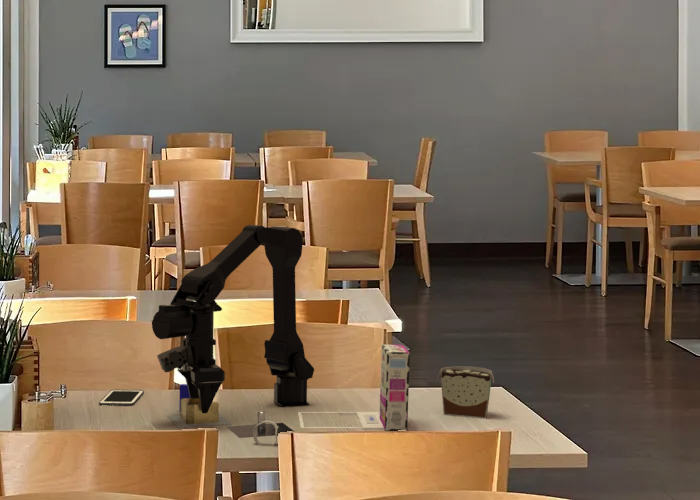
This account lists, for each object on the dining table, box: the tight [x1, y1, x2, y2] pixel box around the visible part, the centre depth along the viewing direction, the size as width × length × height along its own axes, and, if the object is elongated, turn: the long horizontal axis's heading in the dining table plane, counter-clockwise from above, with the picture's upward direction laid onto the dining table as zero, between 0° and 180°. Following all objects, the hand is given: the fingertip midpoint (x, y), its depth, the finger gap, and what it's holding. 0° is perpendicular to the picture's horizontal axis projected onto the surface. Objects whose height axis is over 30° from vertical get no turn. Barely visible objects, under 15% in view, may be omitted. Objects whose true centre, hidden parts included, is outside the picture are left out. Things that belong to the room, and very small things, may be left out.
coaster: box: [167, 413, 233, 429], centre depth 261 cm, size 11×11×1 cm
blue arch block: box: [179, 383, 190, 413], centre depth 276 cm, size 12×4×6 cm, turn 170°
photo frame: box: [297, 411, 385, 431], centre depth 264 cm, size 15×1×18 cm
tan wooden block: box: [180, 398, 220, 424], centre depth 261 cm, size 6×6×4 cm
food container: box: [437, 365, 495, 419], centre depth 273 cm, size 12×6×10 cm, turn 71°
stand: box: [225, 410, 294, 439], centre depth 253 cm, size 12×10×4 cm
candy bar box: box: [379, 343, 411, 432], centre depth 260 cm, size 11×5×16 cm, turn 5°
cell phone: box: [98, 389, 145, 407], centre depth 283 cm, size 8×15×1 cm, turn 179°
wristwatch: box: [252, 420, 280, 446], centre depth 242 cm, size 3×5×5 cm, turn 81°
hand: (199, 408), depth 260 cm, fingers open, 9 cm apart
